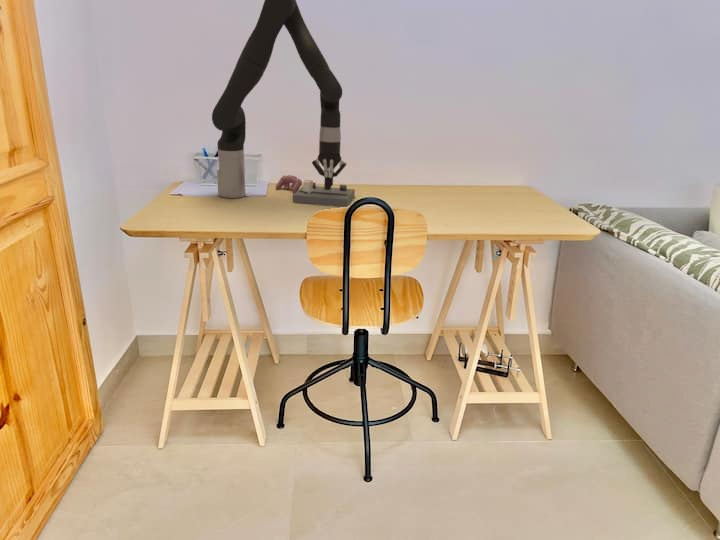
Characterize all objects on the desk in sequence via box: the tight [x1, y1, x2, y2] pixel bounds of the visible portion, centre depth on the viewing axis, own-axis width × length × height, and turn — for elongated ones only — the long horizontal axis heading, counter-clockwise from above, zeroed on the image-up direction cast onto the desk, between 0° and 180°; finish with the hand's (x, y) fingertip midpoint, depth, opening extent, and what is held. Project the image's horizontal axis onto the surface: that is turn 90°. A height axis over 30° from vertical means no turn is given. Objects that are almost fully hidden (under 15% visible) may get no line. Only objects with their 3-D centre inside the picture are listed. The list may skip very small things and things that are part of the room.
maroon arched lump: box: [275, 174, 303, 194], centre depth 217 cm, size 10×5×7 cm, turn 59°
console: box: [292, 182, 356, 207], centre depth 206 cm, size 20×16×5 cm
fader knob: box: [302, 179, 314, 192], centre depth 203 cm, size 2×4×4 cm, turn 171°
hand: (328, 187), depth 203 cm, fingers closed
